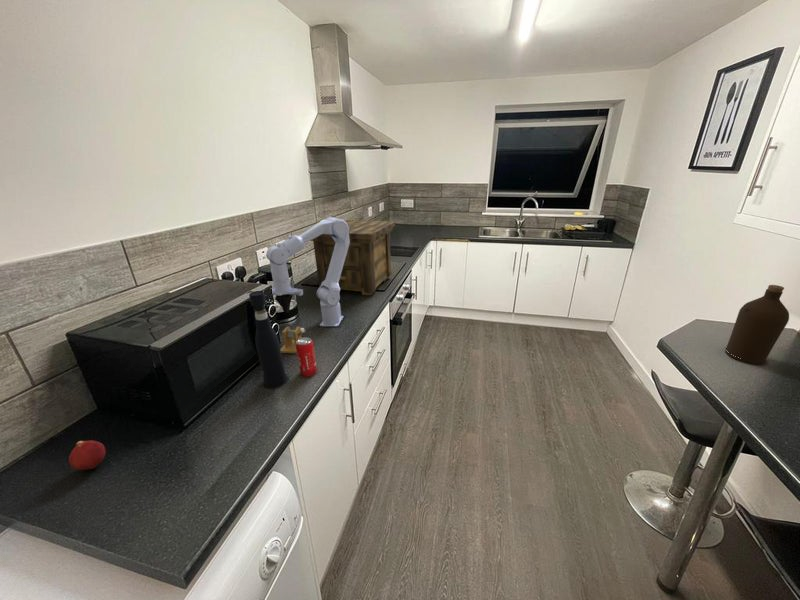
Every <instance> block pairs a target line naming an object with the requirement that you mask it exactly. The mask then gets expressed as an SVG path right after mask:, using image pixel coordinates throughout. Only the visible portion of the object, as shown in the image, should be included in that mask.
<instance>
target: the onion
mask: <svg viewBox="0 0 800 600" xmlns="http://www.w3.org/2000/svg"><path fill="white" fill-rule="evenodd" d="M106 451H107V450H106V447H105V445H104V444H103V443H101V442H100V441H97V440H93V439H91V440H79V441H77V442H76V443H75V447H74V448H73V449H72V450H71V452H70V454H69V456H68V462H69V466H70V467H71V468H72V469H74V470H77V471H88V470H94V469H96V468H97V467H98V466H99V465H100V464H101V463H102V462H103V460H104V459H105V457H106Z"/></svg>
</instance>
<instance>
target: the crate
mask: <svg viewBox="0 0 800 600" xmlns="http://www.w3.org/2000/svg"><path fill="white" fill-rule="evenodd" d="M343 220H344V221H345V222H346V223H347V225H348V226H349V239H350V244H349V247H348V251H347V254H346V258H345V261H344V265H343V268H342V272H341V276H340V279H339V283H338V284H339V287H340V291H354V292H361V295H362V296H372V295H373V293H375V292H376V291H377V287H379V285H380V284H382V283H385V282H386V281H387V278H390V276H392V252H391V251H392V249H391V232H392V231H393V228H394V227H395V226H396V221H386V220H385V221H384V220H353V219H352V220H351V219H350V220H349V219H348V220H346V219H343ZM309 242H312V243H313V250H314V251H313V252H314V258H315V265H316V272H317V280H318V281H317V282H318V289H319V288H320V286H321V283H322V282H323V281H324V280H325V279H326V276H327V272H328V268H329V265H330V261H331V258H332V254H333V251H334V247H335V241H334V239H333V238H332V236H331V235H330V234H321V235H320V236H318V237H316V238H314V239H312V240H310V241H309Z"/></svg>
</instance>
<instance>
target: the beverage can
mask: <svg viewBox="0 0 800 600" xmlns="http://www.w3.org/2000/svg"><path fill="white" fill-rule="evenodd" d="M296 350H297V353H296V356H297V362H298V368H299V373H300V374H301V375H302V376H303V377H306V378H308V377H312V376H314V375H315V374H316V373H317V361H316V356H315V348H314V342H313V340H312V338H311V337H309V336H304V337H303V336H302V338H300V339H298V340H297V341H296Z"/></svg>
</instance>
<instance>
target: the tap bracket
mask: <svg viewBox="0 0 800 600" xmlns="http://www.w3.org/2000/svg"><path fill="white" fill-rule="evenodd" d="M300 328H301V326H296V328H294V329H293V330H294V332H293V336H294V337H287V333H288V330H291V327H290V326H286V327H285V328H284V329H283V330H282V332H281V334H282V340H283V345H282V347H280V350H281V354H297V350H296V341H297V340H298V339H300V338H303V335H301V330H300Z"/></svg>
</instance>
